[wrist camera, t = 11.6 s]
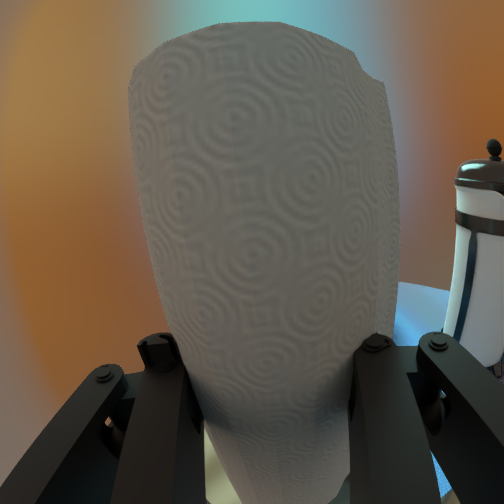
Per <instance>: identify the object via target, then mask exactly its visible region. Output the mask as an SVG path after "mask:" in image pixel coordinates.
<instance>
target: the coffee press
mask: <svg viewBox="0 0 504 504" xmlns="http://www.w3.org/2000/svg"><path fill="white" fill-rule="evenodd" d="M487 150H488V152H489V153H490V154H491V155H492V156H491V157H489V159H473V160H468V161H465V162H464V163H462V164H461V165H460V166H459V168H458V170H457V174H456V178H453V181H454V185H455V187H456V191H457V207H456V208H455V222H456V223H457V229H456V248H455V259H454V269H453V277H452V284H451V291H450V297H449V303H448V309H447V314H446V319H445V324H444V327H443V328H442V330H441V332H442V333H446V334H448V335H450V336H451V337H453V338H454V339H455V340H456V341H457V342H459V343H460V344H461V345H462V346H463V347H464V348H465V349H466V350H467V351H469V352H470V353H471V354H472V355H473V356H474V357H475V358H476V359H477V360H478V361H479V362H480V363H481V364H482V365H483V366H485V367H489V366H492V367H493V369H494V373H495V376H496V377H497V378H500V377H501V376H502V375H503V374H504V161H503V160H502V159H501V158H500V157H498V156H499V155H500V154H501V151H502V147H501V145H500V143H499V142H498V141H497V140H496V139H491V140H489V141H488V143H487ZM500 360H501V371H502V373H501V372H500V369H499V365H498V363H497V362H499V361H500Z"/></svg>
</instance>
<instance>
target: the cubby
mask: <svg viewBox="0 0 504 504" xmlns="http://www.w3.org/2000/svg"><path fill="white" fill-rule="evenodd" d="M441 504H460V502H459V500H458V498H457V496H456V494H455V493H454V491H453V489H451V490H450V491H448V492H447V493H446V494H445V495H444V496H443V497H442V498H441Z"/></svg>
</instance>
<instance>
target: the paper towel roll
mask: <svg viewBox="0 0 504 504" xmlns="http://www.w3.org/2000/svg"><path fill="white" fill-rule="evenodd" d="M128 101H129V118H130V130H131V142H132V151H133V160H134V168H135V175H136V182H137V189H138V196H139V202H140V208H141V213H142V220H143V225H144V230H145V235H146V240H147V245H148V250H149V254H150V259H151V263H152V268H153V272H154V276H155V280H156V284H157V288H158V292H159V296H160V300H161V303H162V307H163V311H164V314H165V318H166V321H167V324H168V328H169V331H170V333H171V334H172V335H173V337H174V338H175V340H176V342H177V345H178V348H179V351H180V354H181V357H182V360H183V363H184V365H185V368H186V371H187V374H188V378H189V380H190V383H191V385H192V388H193V391H194V394H195V396H196V399H197V402H198V404H199V407H200V410H201V412H202V414H203V417H204V427H205V430H206V432H207V434H208V437H209V439H210V441H211V443H212V445H213V448H214V450H215V452H216V454H217V456H218V458H219V460H220V462H221V464H222V466H223V468H224V470H225V472H226V474H227V476H228V478H229V480H230V482H231V484H232V486H233V488H234V490H235V491H236V493H237V495H238V497H239V499H240V500H241V502H242V503H243V504H328V503H329V502H330V501H331V500H333V499H334V498H335V497H336V496H337V494H338V492H339V490H340V488H341V486H342V484H343V482H344V479H345V478H346V477H347V475H348V474H349V473H350V453H349V431H348V415H347V406H348V400H349V399H350V391H351V383H352V375H353V358H354V351H355V350H356V349H358V348H359V347H360V346H361V345H362V343H363V341H364V340H365V339H367V338H369V337H370V336H371V335H372V334H376V332H377V333H378V334H382V335H386V336H387V337H389V338H391V339H392V335H393V328H394V320H395V312H396V303H397V292H398V280H399V262H400V201H399V182H398V170H397V159H396V150H395V142H394V136H393V128H392V122H391V116H390V110H389V105H388V100H387V95H386V90H385V86H384V83H383V82H381V81H378V80H376V79H373V78H372V77H371V76H369V75H368V74H367V73H366V72H365V71H363V69H362V67H361V65H360V63H359V61H358V60H357V57H356V56H355V54H354V52H352V51H351V50H349V49H347V48H345V47H343V46H341V45H339V44H337V43H335V42H333V41H331V40H329V39H327V38H325V37H323V36H320V35H318V34H315V33H312V32H309V31H307V30H304V29H301V28H298V27H294V26H291V25H288V24H285V23H281V22H233V23H219V24H215V25H212V26H209V27H205V28H202V29H199V30H196V31H193V32H190V33H187V34H184V35H182V36H179V37H176V38H174V39H171V40H169V41H166V42H164V43H162V44H161V45H160V46H159V47H157V48H156V49H155V50H153V51H152V52H151V53H150V54H149V55H147V56H146V57H145V58H144V59H143V60H141V61H140V62H139V63H138V64H137V65H136V66H135V67H134V69H133V73H132V76H131V80H130V83H129V87H128Z"/></svg>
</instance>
